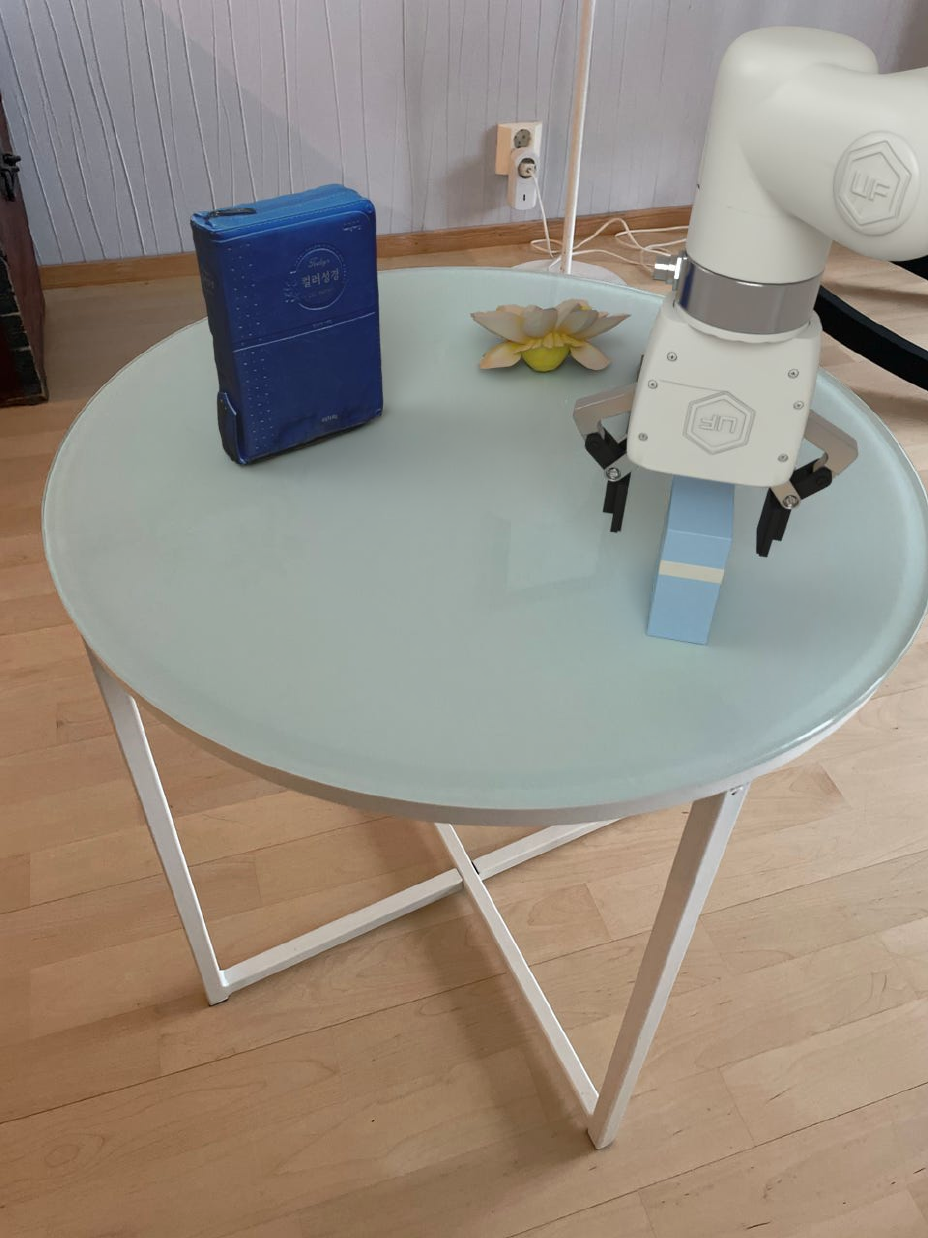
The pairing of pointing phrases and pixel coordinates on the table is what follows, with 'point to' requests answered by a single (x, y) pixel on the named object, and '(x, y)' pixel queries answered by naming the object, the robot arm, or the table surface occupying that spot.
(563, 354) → the decorative flower
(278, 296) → the book
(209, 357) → the table surface
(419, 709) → the table surface
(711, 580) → the box
